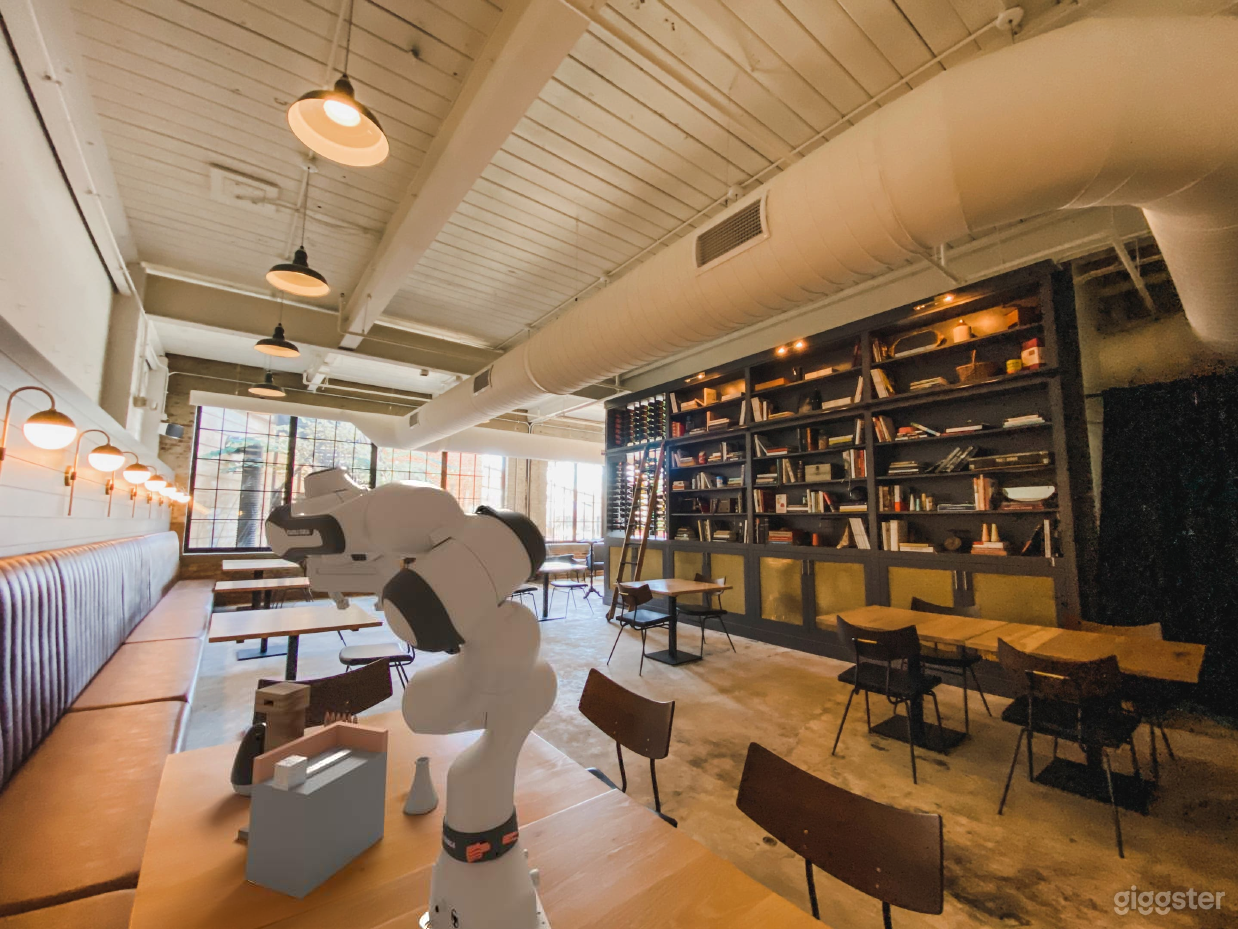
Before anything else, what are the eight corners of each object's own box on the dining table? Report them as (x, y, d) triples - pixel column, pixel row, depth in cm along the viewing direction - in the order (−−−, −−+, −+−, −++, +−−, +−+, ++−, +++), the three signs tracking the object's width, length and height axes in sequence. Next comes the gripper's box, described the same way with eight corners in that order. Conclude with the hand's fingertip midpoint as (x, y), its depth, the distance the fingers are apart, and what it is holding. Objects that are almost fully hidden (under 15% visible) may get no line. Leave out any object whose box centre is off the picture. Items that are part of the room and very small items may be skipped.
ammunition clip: (319, 759, 135) (321, 712, 136) (324, 756, 137) (327, 710, 138) (353, 763, 133) (355, 715, 134) (358, 760, 135) (360, 713, 136)
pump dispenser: (222, 806, 113) (228, 735, 115) (235, 784, 122) (240, 718, 124) (277, 796, 117) (281, 727, 119) (285, 776, 126) (289, 712, 128)
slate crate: (301, 899, 85) (307, 794, 87) (245, 880, 89) (252, 781, 91) (383, 836, 102) (387, 750, 104) (333, 823, 106) (337, 740, 108)
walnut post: (280, 850, 98) (290, 695, 101) (237, 837, 102) (248, 689, 105) (317, 827, 105) (325, 683, 108) (276, 816, 109) (285, 678, 112)
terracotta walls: (307, 794, 87) (308, 769, 87) (252, 781, 91) (254, 758, 92) (387, 750, 104) (388, 729, 104) (337, 740, 108) (338, 721, 109)
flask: (426, 817, 108) (428, 768, 109) (396, 814, 110) (398, 765, 111) (444, 799, 115) (445, 753, 117) (415, 796, 117) (417, 750, 118)
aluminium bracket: (287, 791, 88) (289, 766, 88) (273, 787, 89) (275, 763, 90) (356, 754, 102) (357, 734, 102) (343, 752, 103) (344, 731, 103)
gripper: (291, 553, 100) (310, 615, 103) (376, 553, 94) (393, 619, 98) (317, 540, 106) (334, 600, 109) (398, 539, 100) (414, 602, 104)
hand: (362, 609), depth 103 cm, fingers open, 8 cm apart
